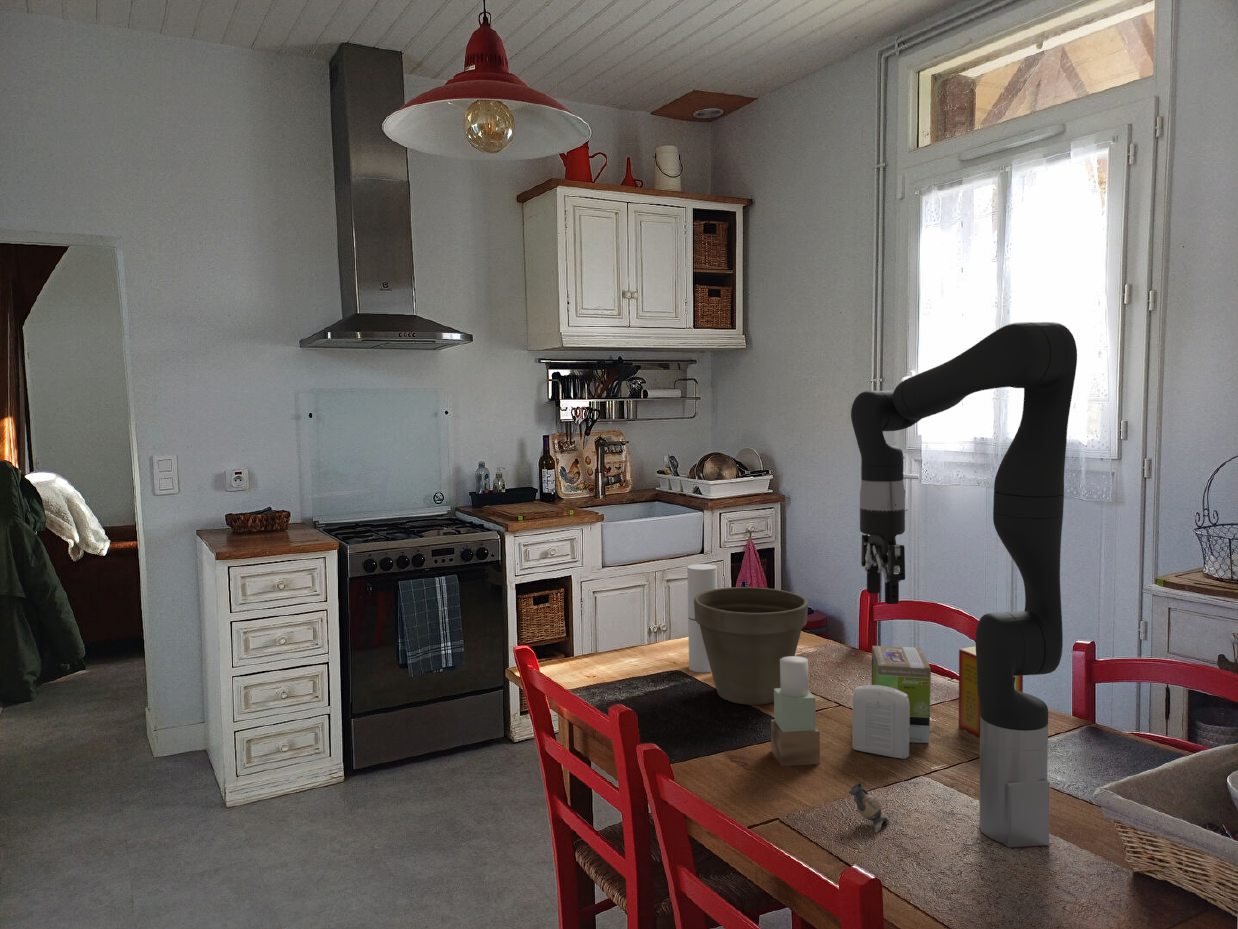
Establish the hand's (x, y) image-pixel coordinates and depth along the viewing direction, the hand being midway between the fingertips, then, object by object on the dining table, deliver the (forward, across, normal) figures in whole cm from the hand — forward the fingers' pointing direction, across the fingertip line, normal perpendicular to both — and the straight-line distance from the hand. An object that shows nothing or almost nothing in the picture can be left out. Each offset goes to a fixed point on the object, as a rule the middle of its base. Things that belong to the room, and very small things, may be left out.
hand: (882, 598), depth 157 cm
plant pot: (+30, +41, +14) cm, 53 cm away
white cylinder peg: (+18, +6, +14) cm, 24 cm away
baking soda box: (+30, +14, -27) cm, 43 cm away
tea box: (+30, +17, -10) cm, 36 cm away
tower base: (+30, +6, +14) cm, 34 cm away
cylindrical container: (+30, +62, +21) cm, 72 cm away
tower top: (+24, +6, +14) cm, 29 cm away
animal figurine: (+30, -20, +10) cm, 38 cm away
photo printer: (+30, +6, -2) cm, 31 cm away
